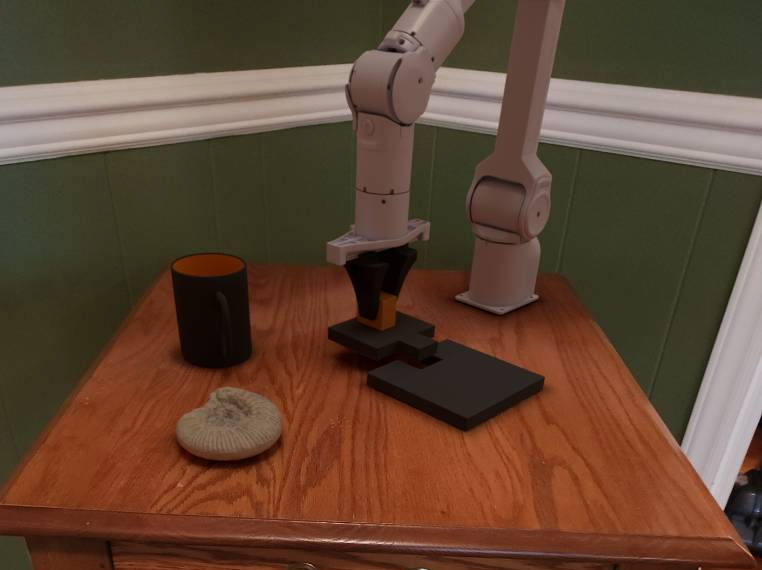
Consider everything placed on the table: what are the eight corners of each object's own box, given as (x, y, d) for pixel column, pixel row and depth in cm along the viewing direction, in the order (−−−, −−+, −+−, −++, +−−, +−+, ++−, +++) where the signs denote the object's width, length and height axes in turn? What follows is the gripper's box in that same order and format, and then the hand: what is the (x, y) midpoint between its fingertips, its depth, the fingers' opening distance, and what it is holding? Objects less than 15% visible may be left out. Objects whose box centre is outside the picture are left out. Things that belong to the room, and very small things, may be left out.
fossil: (183, 373, 73) (283, 383, 74) (183, 407, 75) (280, 416, 76) (169, 428, 64) (283, 438, 65) (170, 464, 66) (280, 473, 68)
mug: (195, 386, 79) (184, 292, 73) (175, 343, 88) (164, 255, 82) (269, 376, 82) (264, 284, 75) (242, 335, 91) (236, 249, 84)
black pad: (385, 317, 91) (387, 277, 88) (455, 345, 85) (460, 303, 82) (327, 339, 85) (327, 297, 82) (398, 370, 79) (401, 326, 76)
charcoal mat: (445, 350, 89) (447, 338, 88) (542, 389, 81) (545, 376, 80) (366, 384, 81) (366, 372, 80) (465, 431, 73) (467, 418, 72)
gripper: (400, 172, 83) (393, 290, 91) (306, 191, 74) (307, 320, 83) (448, 183, 79) (436, 306, 87) (355, 205, 71) (351, 338, 79)
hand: (376, 314), depth 85 cm, fingers closed on black pad, 2 cm apart
